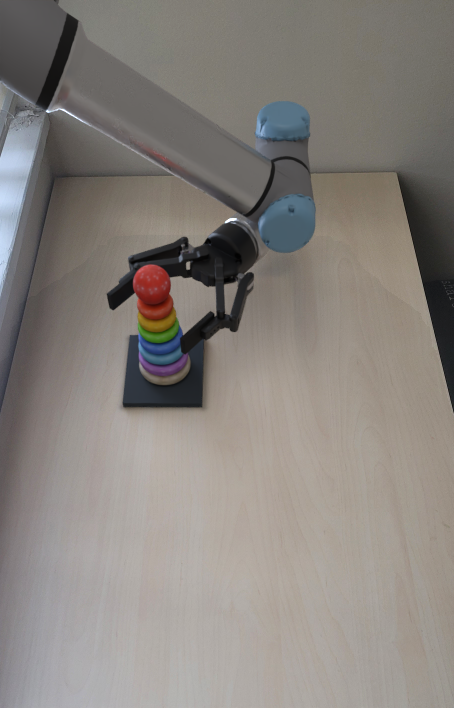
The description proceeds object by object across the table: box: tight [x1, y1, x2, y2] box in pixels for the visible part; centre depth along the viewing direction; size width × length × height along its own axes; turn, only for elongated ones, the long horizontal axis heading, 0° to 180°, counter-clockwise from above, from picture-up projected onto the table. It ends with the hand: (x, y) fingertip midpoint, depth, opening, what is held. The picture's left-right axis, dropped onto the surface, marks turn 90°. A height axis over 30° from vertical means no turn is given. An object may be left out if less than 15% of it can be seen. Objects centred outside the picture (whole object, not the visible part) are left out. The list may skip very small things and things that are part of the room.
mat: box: [122, 334, 205, 408], centre depth 100 cm, size 12×14×1 cm
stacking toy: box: [133, 265, 191, 385], centre depth 92 cm, size 8×8×19 cm
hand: (145, 324), depth 89 cm, fingers open, 13 cm apart
